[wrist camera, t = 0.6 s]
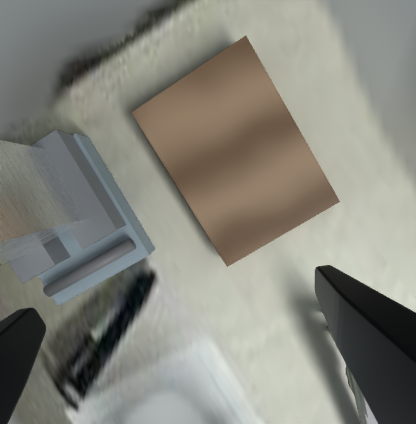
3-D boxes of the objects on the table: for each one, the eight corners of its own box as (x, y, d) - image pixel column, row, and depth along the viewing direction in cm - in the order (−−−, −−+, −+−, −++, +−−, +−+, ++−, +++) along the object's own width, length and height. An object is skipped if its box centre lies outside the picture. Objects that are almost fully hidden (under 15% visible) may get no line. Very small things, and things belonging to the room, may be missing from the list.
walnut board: (328, 199, 21) (339, 201, 19) (226, 259, 22) (227, 266, 20) (243, 50, 20) (245, 35, 18) (139, 119, 21) (131, 112, 19)
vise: (155, 248, 22) (126, 278, 15) (71, 295, 23) (8, 344, 16) (89, 137, 21) (26, 115, 14) (4, 190, 22) (-94, 193, 15)
